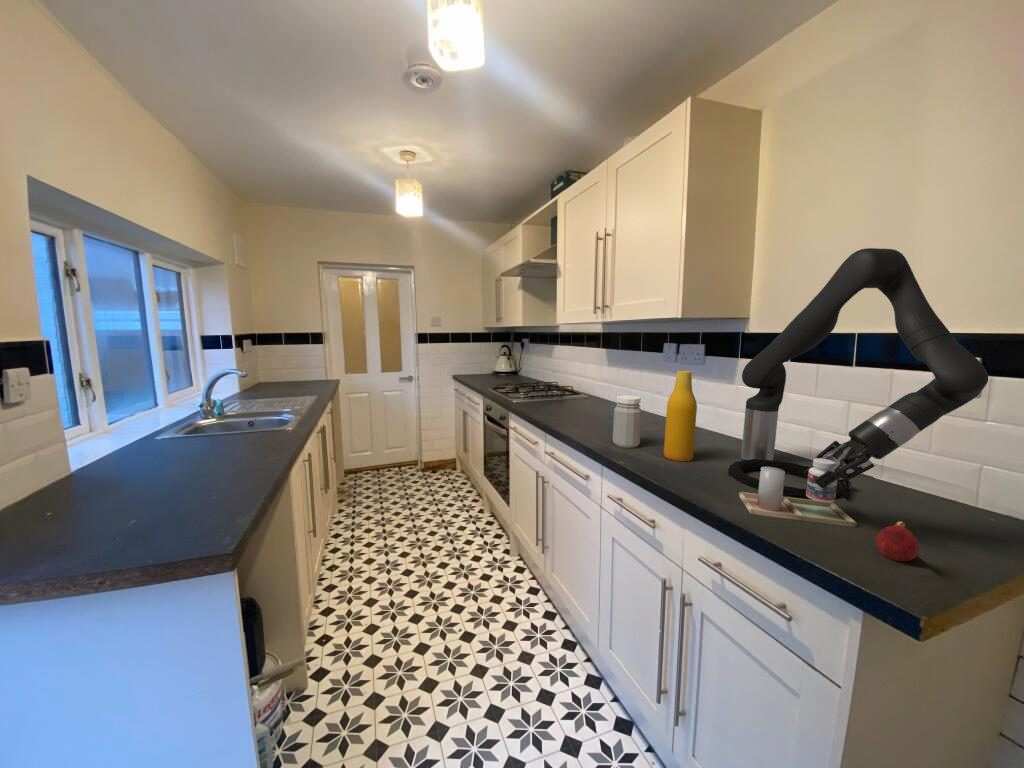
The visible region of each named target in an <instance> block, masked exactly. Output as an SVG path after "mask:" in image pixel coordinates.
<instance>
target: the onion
mask: <svg viewBox="0 0 1024 768" xmlns="http://www.w3.org/2000/svg"><path fill="white" fill-rule="evenodd" d="M906 525H907V524H906V523H905V522H904V521H897V522H896V523H895V524H894V525H888V526H885V527H883V528H882V529H881V530H879V532H878V533H877V534H876V537H875V544H876V546H877V548H878V551H879V552H880V553H881V554H882V555H883V556H884V557H886V558H888V559H891V560H893V561H897V562H900V563H902V562H903V563H905V562H910V561H912V560H914V559H915V558H916V557H917V556H918V554H919V553H920V544H919V541H918V539H917V538H916V537H915V535H914V533H912V531H910V530H909V529H907V528H906Z"/></svg>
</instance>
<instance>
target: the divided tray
mask: <svg viewBox="0 0 1024 768" xmlns="http://www.w3.org/2000/svg"><path fill="white" fill-rule="evenodd" d="M738 497H739V498H740V499H741V501H742V503H743V504H744V506H745V507H746V508H747V510H748V512H749V514H750V515H755V516H756V515H757V516H763V517H771V518H773V517H774V518H779V519H780V518H781V519H789V520H797V521H803V522H813V523H822V524H827V525H828V524H829V525H836V526H841V527H842V526H843V527H852V528H857V526H858V525H857V524H858V523H857V522H856V521H855V520H854V519H853V518H852V517H851V516H849V515H848V514H847V513H846V512H845V511H843V509H841V508H840V507H839V506H838V505H836V504H835V503H834V502H832V503H824V502H818V501H815V500H812V499H800V498H794V497H789V496H782V505H781V510H780V511H769V510H765V509H762V508H760V507H758V506H757V500H758V493H753V492H752V493H751V492H747V491H745V492H744V491H738Z"/></svg>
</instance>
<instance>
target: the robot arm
mask: <svg viewBox="0 0 1024 768" xmlns="http://www.w3.org/2000/svg"><path fill="white" fill-rule="evenodd" d="M864 289H877V290H878V291H880V292H881V293H882V294H883V295H884V296H885V297H886V298H887V299H888V301H889V302H890V304H891V306H892V308H893V312H894V323H895V329H896V331H897V334H898V336H899V337H900V339H901V341H903V343H904V345H905V346H906V348H907V349H908V350H909V352H910V353H911V354H912V356H913V357H914V358H915V359H916V360H917V361H919V362H921V363H924V364H925V365H926V366H927V368H928V369H929V370H930V372H931V373H932V374H933V376H934V378H933V380H931V381H930V382H928V383H927V384H926V385H924V386H922V387H921V388H920V389H918V390H917V391H915V392H914V391H913V392H909V393H907V394H905V395H903V396H901V398H899V399H897V400H896V401H894V402H893V403H892V404H890V405H889V406H887V407H885V408H884V409H882V410H880V411H878V412H876V413H875V414H873V415H871V416H870V417H869V418H867V419H866V420H865V421H863V422H861V423H860V424H858V425H857V426H856V427H854V428H853V429H851V430H850V431H849V432H848V437H850V440H848V441H846V442H843V443H840V442H838V440H834V441H833V442H832V443H830V444H829V445H827V447H825V449H823V450H822V451H821V452H820V453H818V454H816V456H815V459H817V458H820V459H827V460H831V461H834V462H835V463H836V464H835V465H834V466H833V467H832V468H831V470H830V471H831V472H830V471H829V470H828V471H827V472H825V473H824V474H822V475H821V476H819V477H818V478H816V479H815V482H816V483H817V485H818V486H820V487H821V488H825V487H826V486H828V485H829V484H831V483H832V482H834V481H835V480H837V479H845V480H846V481H847V480H850V479H851V480H852V479H853V478H855V477H857V476H859V475H862V474H863V473H865V472H867V471H869V470H871V469H873V468H875V464H874V462H872V461H871V460H870V459H871V458H873V459H875V460H881V459H883V458H885V457H887V455H889V454H891V453H892V452H894V451H895V450H898V448H900V447H901V446H903V445H905V444H906V443H907V442H909V441H910V440H912V439H914V437H915V436H917V435H918V434H920V432H922V431H923V430H925V429H926V428H928V427H929V426H931V425H933V424H934V423H935V422H937V421H938V420H939V419H940V418H942V417H943V416H945V415H947V414H949V413H951V412H953V411H955V410H957V409H959V408H961V407H962V406H964V405H966V404H968V403H969V402H971V401H973V400H974V399H975V398H977V397H978V396H979V395H980V394H981V393H982V391H983V390H984V389H985V387H986V386H987V384H988V383H989V375H988V374H989V373H988V372H987V370H986V367H985V366H984V364H982V362H981V361H980V360H979V359H978V358H977V356H975V355H974V354H973V353H971V352H970V351H969V350H968V349H966V348H965V347H964V346H963V345H961V344H960V343H958V341H957V340H956V338H955V337H954V335H953V334H952V332H951V331H950V330H949V329H948V327H946V325H945V324H944V323H943V321H942V320H941V319H940V318H939V317H938V315H937V314H936V312H935V311H934V310H933V308H932V306H931V305H930V302H929V301H928V300H927V298H926V296H925V294H924V292H923V291H922V288H921V287H920V285H919V283H918V280H917V279H916V277H915V274H914V272H913V270H912V268H911V266H910V264H909V262H908V260H907V259H906V257H905V255H904V254H903V253H902V252H901V251H898V250H897V249H892V248H877V247H876V248H875V247H871V248H870V247H869V248H868V247H867V248H862V249H859V250H857V251H854V252H853V253H851V254H850V255H849V256H848V257H847V258H846V259H845V260H844V261H843V262H842V263H841V265H840V266H839V267H838V268H837V270H836V271H835V273H833V275H832V276H831V277H830V279H828V281H827V283H826V284H825V285H824V287H822V289H821V290H820V291H819V292H818V293H817V294H816V295H815V296H814V297H813V299H812V300H811V301H810V302H809V303H808V304H807V305H806V306H805V307H804V308H803V309H802V310H801V311H800V312H799V313H798V314H797V315H796V316H795V317H794V318H793V319H792V320H791V321H790V322H789V323H788V324H787V326H786V327H785V328H784V329H783V330H782V331H781V332H780V333H779V334H778V335H777V336H776V337H775V338H774V339H773V340H772V341H771V342H770V344H768V345H767V346H766V347H765V348H764V349H763V350H762V351H760V352H759V353H758V354H756V355H755V356H754V357H753V358H752V359H751V360H749V361H748V362H747V364H746V365H745V366H744V368H743V370H742V372H741V373H742V374H741V380H742V383H743V384H744V385H745V386H747V387H749V388H751V389H758V392H757V393H756V394H755V395H753V396H751V397H749V398H747V399H746V401H745V410H744V423H743V432H742V442H741V443H742V444H741V453H740V458H741V460H751V459H760V460H774V458H775V456H774V455H775V449H776V448H775V447H776V438H777V428H778V418H779V411H780V406H781V403H782V402H783V399H784V393H785V386H786V380H787V371H786V368H785V367H786V366H785V365H784V363H787V362H788V361H791V360H792V359H794V358H796V357H799V356H801V355H803V354H805V353H807V352H809V351H811V350H812V349H814V348H815V347H817V346H818V345H819V344H820V343H822V341H824V340H825V339H826V338H827V337H828V336H829V335H830V334H831V333H832V332H833V331H834V329H835V327H836V325H837V323H838V320H839V319H838V318H839V315H840V312H841V310H842V308H843V307H844V306H845V305H846V303H848V302H849V301H851V299H852V298H853V297H855V296H856V294H858V293H859V292H861V290H862V291H863V290H864ZM808 467H809V468H808V469H806V470H805V471H804V473H805V474H806V475H807V476H808V472H809V469H810V468H813V467H814V466H813V464H812V465H811V466H808Z"/></svg>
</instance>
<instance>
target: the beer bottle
mask: <svg viewBox="0 0 1024 768" xmlns="http://www.w3.org/2000/svg"><path fill="white" fill-rule="evenodd" d="M675 377H676V378H675V381H674V387H673V391H672V392H671V394H670V395H669V397H668V400H667V403H666V417H665V428H664V430H665V432H664V445H663V456H664V457H665V459H668V460H671V461H675V462H683V463H684V462H690V461H692V460H693V458H694V453H695V452H694V449H695V436H696V435H695V434H696V424H697V423H696V422H697V414H698V413H697V411H698V404H697V400H696V397H695V395H694V392H693V383H692V382H693V381H692V379H693V378H692V371H690V370H686V371H685V370H678V371H676V376H675Z"/></svg>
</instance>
